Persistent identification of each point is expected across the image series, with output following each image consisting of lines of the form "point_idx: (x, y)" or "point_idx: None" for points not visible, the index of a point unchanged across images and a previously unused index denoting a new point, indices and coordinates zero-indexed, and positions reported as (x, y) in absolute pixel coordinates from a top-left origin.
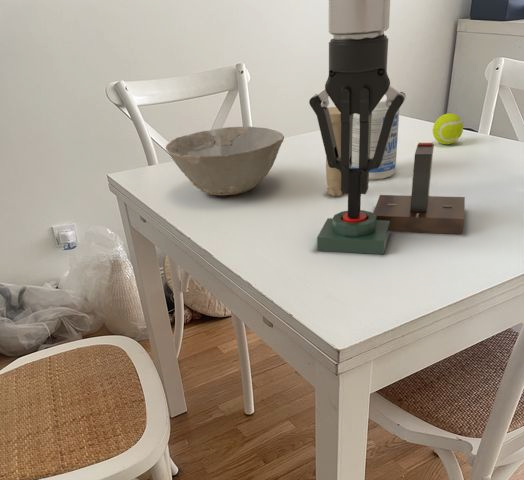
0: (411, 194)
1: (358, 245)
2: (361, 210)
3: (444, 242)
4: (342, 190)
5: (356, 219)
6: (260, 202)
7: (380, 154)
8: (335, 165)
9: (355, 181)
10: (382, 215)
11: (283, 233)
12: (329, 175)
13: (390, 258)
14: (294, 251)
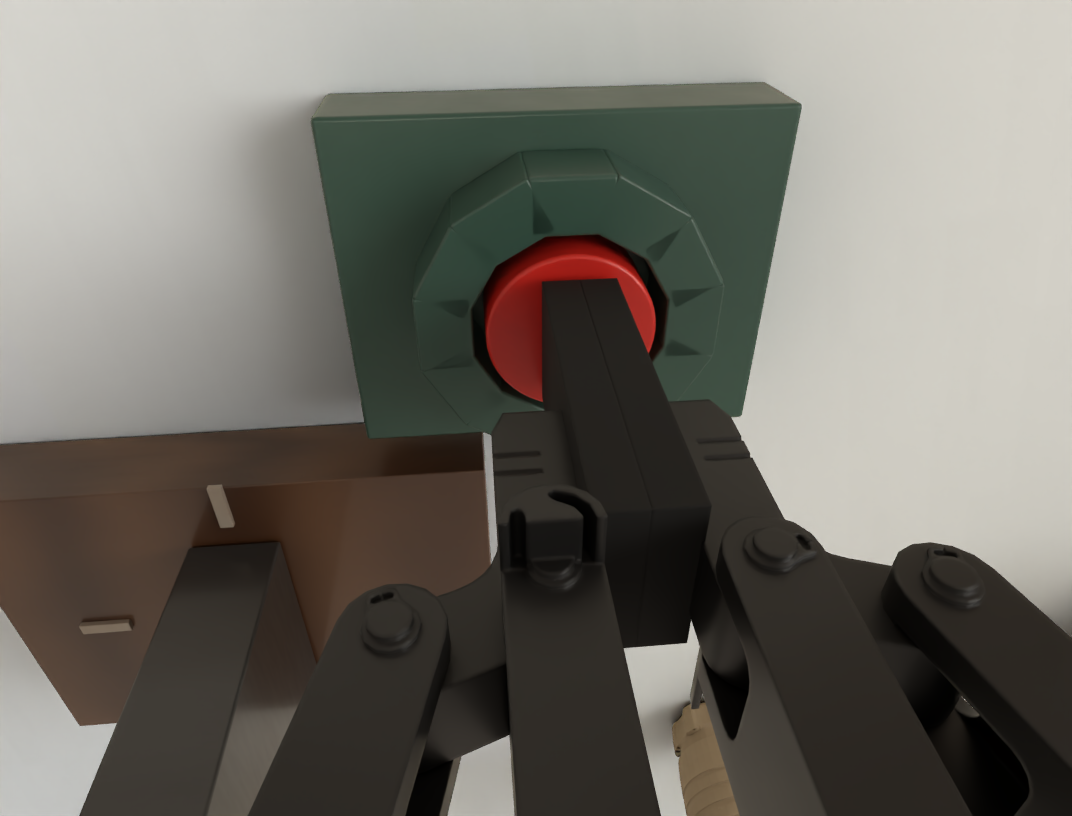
0: (259, 625)
1: (495, 99)
2: None
3: (30, 336)
4: (716, 415)
5: (547, 271)
6: (1047, 607)
7: (319, 757)
8: (902, 570)
9: (612, 455)
10: (423, 479)
11: (967, 304)
12: None
13: (260, 39)
14: (916, 49)
